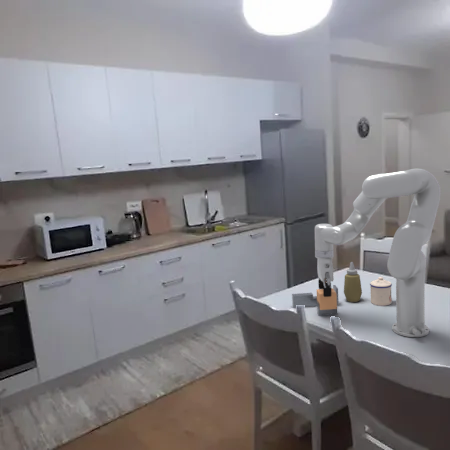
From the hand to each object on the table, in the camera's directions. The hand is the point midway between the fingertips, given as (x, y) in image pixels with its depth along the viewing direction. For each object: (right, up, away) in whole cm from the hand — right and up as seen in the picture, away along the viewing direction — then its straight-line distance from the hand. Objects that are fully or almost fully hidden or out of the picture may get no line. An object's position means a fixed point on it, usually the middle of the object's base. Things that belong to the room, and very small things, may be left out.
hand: (324, 292), depth 176 cm
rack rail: (-1, -7, +14) cm, 16 cm away
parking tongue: (+1, -9, +1) cm, 9 cm away
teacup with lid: (+27, -6, +10) cm, 30 cm away
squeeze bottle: (+17, -6, +14) cm, 23 cm away
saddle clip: (+1, -6, +1) cm, 6 cm away
